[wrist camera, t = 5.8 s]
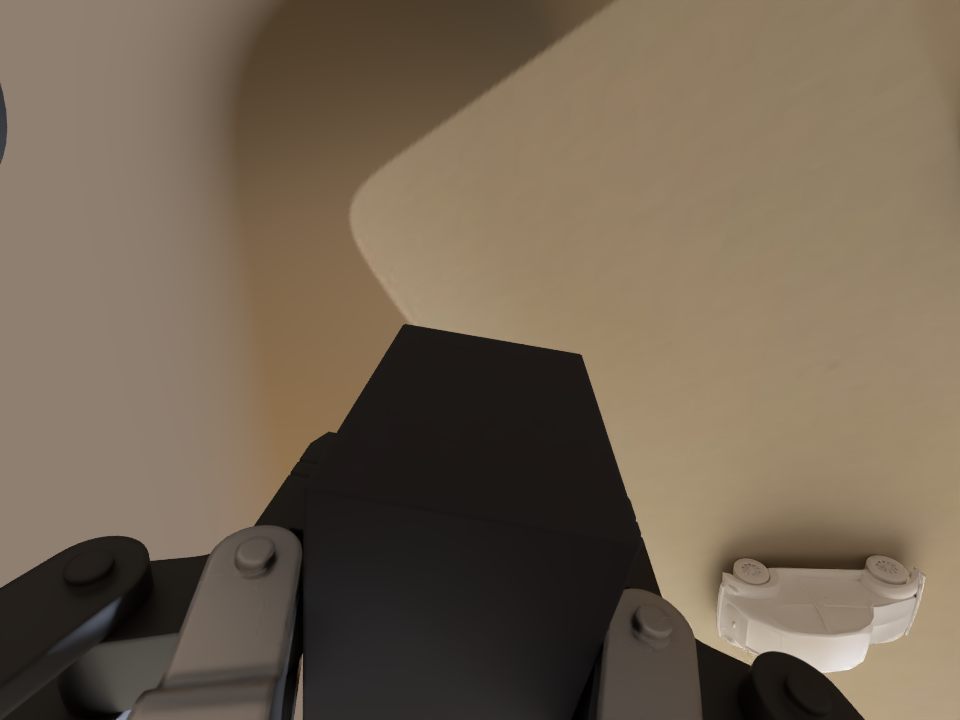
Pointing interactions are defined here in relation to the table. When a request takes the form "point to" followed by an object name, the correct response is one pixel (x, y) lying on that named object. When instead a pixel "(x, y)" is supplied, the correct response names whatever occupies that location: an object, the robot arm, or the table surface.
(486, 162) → the table surface
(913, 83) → the table surface
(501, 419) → the black rectangular block
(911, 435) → the table surface
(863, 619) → the car
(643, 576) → the robot arm
